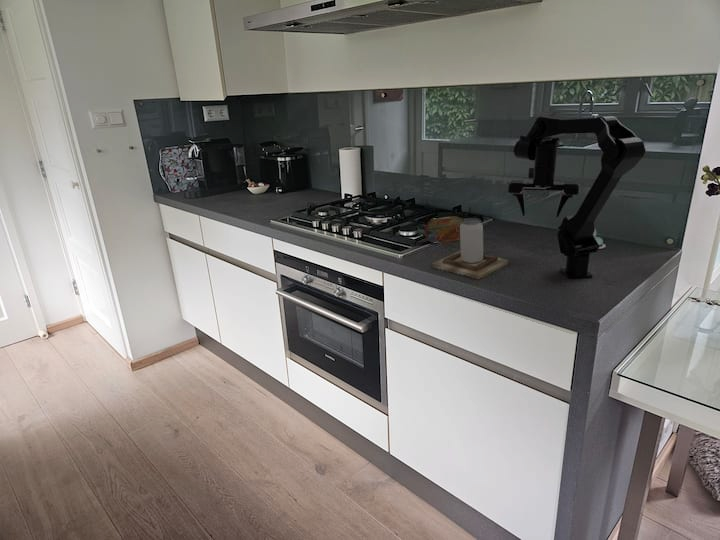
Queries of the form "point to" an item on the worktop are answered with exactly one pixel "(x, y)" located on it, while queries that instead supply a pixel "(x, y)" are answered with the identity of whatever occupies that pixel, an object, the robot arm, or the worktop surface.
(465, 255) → the can
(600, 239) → the pacifier
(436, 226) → the tin
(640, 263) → the worktop surface
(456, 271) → the base plate
